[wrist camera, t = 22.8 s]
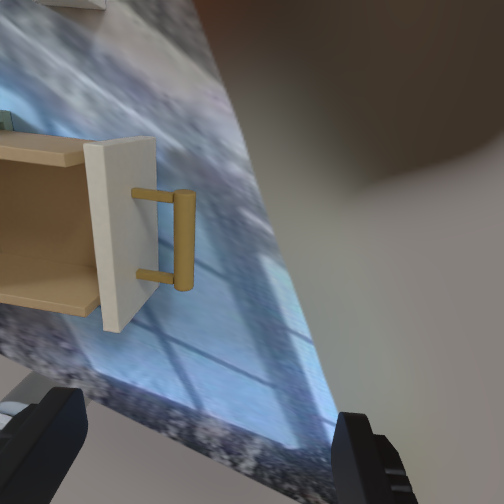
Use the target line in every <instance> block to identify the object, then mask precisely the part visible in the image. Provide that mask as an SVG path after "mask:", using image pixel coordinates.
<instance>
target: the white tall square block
mask: <svg viewBox="0 0 504 504" xmlns="http://www.w3.org/2000/svg"><path fill="white" fill-rule="evenodd" d="M32 1H35V2H37V3H40V4H42V5H50V6H62V7H74V8H86V9H97V10H106V3H105V0H32Z"/></svg>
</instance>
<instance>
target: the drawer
mask: <svg viewBox="0 0 504 504" xmlns="http://www.w3.org/2000/svg"><path fill="white" fill-rule="evenodd" d="M157 201H159V202H167V203H173V202H174V274H173V273H166V272H160V271H159V257H158V215H157ZM195 211H196V192H194V191H192V190H186V189H180V190H175V191H174V192H167V191H159V190H157V174H156V138H155V137H149V136H134V137H126V138H119V139H112V140H104V141H93V140H85V139H76V138H68V137H59V136H51V135H43V134H34V133H26V132H17V131H9V130H1V129H0V303H5V304H11V305H17V306H22V307H28V308H34V309H40V310H45V311H51V312H57V313H63V314H68V315H74V316H80V317H87V316H88V315H89V314H90V313H91V312H92V311H94V310H95V309H96V308H97V307H98V306H99V305H100V304H101V311H102V320H103V329H104V331H108V332H114V333H120V332H121V331H122V330H123V329H124V327H125V326H126V325H127V324H128V323H129V321H130V320H131V319H132V318H133V317H134V315H135V314H136V313H137V312H138V311H139V310H140V308H141V307H142V306H143V305H144V304H145V302H146V301H147V300H148V299H149V298H150V296H151V295H152V294H153V293H154V292H155V290H156V289H157V288H158V287H159V282H160V283H166V284H174V288H175V289H176V290H178V291H189V290H191V289H192V288H193V286H194V251H195Z"/></svg>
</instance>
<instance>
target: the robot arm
mask: <svg viewBox="0 0 504 504" xmlns="http://www.w3.org/2000/svg"><path fill="white" fill-rule="evenodd" d="M87 431H88V420H87V414H86V408H85V402H84V396H83V392H82V390H81V389H79V388H68V387H53V388H52V389H51V390H50V391H49V392H48V393H47V394H46V395H45V397H44V398H43V399H42V400H41V402H40V403H39V404H30V405H29V406H28V407H26V408H25V409H23V410H22V411H21V412H19V413H18V414H16V415H15V416H14V417H12V418H11V420H10V421H9V422H8V423H7V424H6V425H5V426H4V428H3V429H2V430H0V504H49V503H50V502H51V500H52V498H53V496H54V495H55V493H56V491H57V489H58V488H59V486H60V484H61V482H62V481H63V479H64V477H65V475H66V474H67V472H68V470H69V468H70V467H71V465H72V463H73V461H74V460H75V458H76V456H77V455H78V453H79V451H80V449H81V448H82V446H83V444H84V441H85V438H86V435H87ZM331 465H332V472H333V477H334V483H335V488H336V493H337V499H338V504H418V502H417V499H416V497H415V494H414V493H413V491H412V486H411V484H410V481H409V479H408V476H406V471H405V469H404V466H403V464H402V461H401V459H400V456H399V453H398V452H397V450H396V449H395V448H394V447H393V445H392V444H391V443H390V442H389V440H388V439H387V438H386V437H385V435H376V434H373V432H372V429H371V426H370V423H369V420H368V418H367V416H366V415H365V414H360V413H348V412H340V413H339V415H338V419H337V424H336V428H335V433H334V437H333V442H332V447H331Z"/></svg>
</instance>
